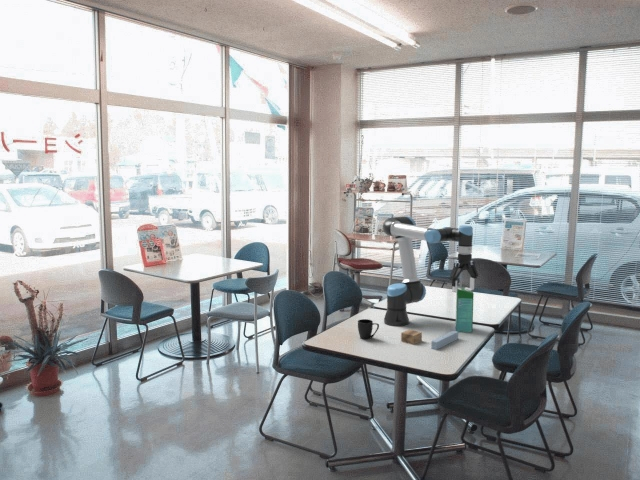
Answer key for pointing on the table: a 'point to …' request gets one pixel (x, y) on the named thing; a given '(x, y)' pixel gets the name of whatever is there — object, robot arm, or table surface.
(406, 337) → the block
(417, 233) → the robot arm
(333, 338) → the table surface
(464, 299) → the milk carton
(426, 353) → the table surface
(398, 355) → the table surface
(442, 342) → the pale blue bar
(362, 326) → the mug
